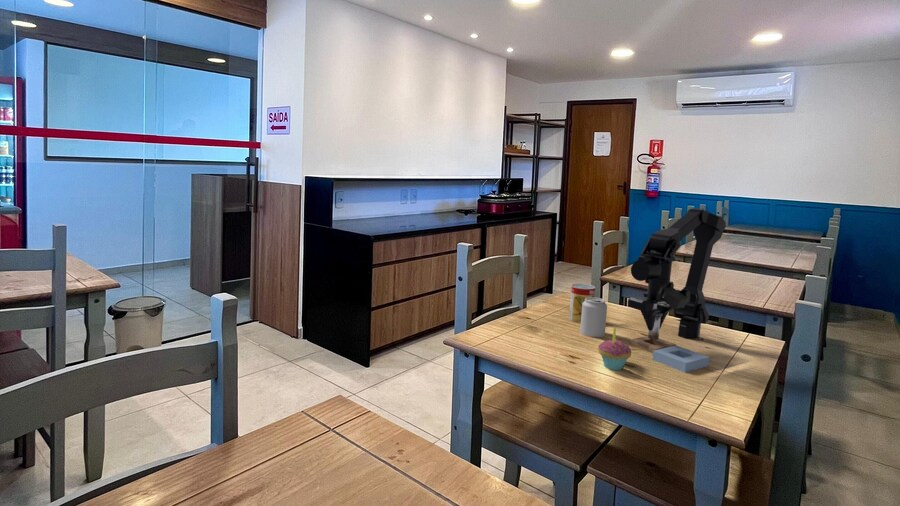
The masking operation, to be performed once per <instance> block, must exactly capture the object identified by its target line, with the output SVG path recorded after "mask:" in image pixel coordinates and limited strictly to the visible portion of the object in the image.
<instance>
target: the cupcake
mask: <svg viewBox="0 0 900 506" xmlns="http://www.w3.org/2000/svg"><path fill="white" fill-rule="evenodd" d="M616 331H617V328H616V325H615V324H613V328H612V339H608V340H607V339H606V340H604V341H602V342H601V343H600V344H598V347H597V351H598V353H599V355H600V356H601V359H602V362H603V366H604V367H605V368H607V369H609V370H613V371H621V370H623V368H624V366H625V364H626V362H627V360H628V359H629V358H630V357H631V356H632V350H631V349H632V348H631V347H630V345H628V344H626V343H625V342H623V341H621V340H618V339H616V333H617V332H616Z"/></svg>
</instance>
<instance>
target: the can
mask: <svg viewBox="0 0 900 506" xmlns="http://www.w3.org/2000/svg"><path fill="white" fill-rule="evenodd" d="M607 313H608V304H607V303H606V300H605V299H603V298H600V297H595V296H594V297H589V298H585V301H584V302H583V303H582V314H581V323H580V327H579V328H580V331H579V333H580V334H581V335H583V336H586V337H591V338H602V337H605V334H606V325H607V323H606V322H607Z"/></svg>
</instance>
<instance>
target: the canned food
mask: <svg viewBox="0 0 900 506" xmlns="http://www.w3.org/2000/svg"><path fill="white" fill-rule="evenodd" d="M595 294H596V286H595V285H592V284H588V283H573V284H571V290H570V303H569V315H568V319H569V320H570V321H572V322H574V323H580V324H581V314H582V303H583V302H584V301H585V298H589V297H594V298H595V296H596V295H595Z"/></svg>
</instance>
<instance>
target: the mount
mask: <svg viewBox="0 0 900 506" xmlns="http://www.w3.org/2000/svg"><path fill="white" fill-rule="evenodd" d="M630 345H631V346H633V347H635V348H638V349H641V350H643V351H646V352H649V353H650V354H651V353H652V354H653V351H654V350H659V349H663V348H668V347H672V346H676V345H677V344H676V343H674V342H671V341H668V340H665V339H662V338H659V339H658V340H653V339H649V338H648V335H645V336H641V337H640V336H639V337H636V338H632V339H631V338H630V339H629V346H630Z"/></svg>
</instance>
